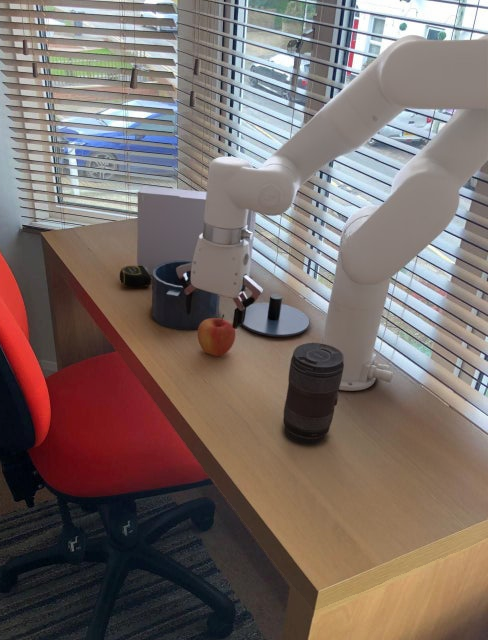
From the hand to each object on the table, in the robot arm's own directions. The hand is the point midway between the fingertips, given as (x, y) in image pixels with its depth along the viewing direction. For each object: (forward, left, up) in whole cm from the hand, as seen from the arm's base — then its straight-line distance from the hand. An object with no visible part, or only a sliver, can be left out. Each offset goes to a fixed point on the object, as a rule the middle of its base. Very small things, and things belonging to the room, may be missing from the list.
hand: (214, 318), depth 124 cm
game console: (+20, -32, -8) cm, 39 cm away
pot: (+12, -12, -8) cm, 19 cm away
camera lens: (-25, +16, -8) cm, 30 cm away
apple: (-1, 0, -8) cm, 8 cm away
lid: (-5, -19, -7) cm, 21 cm away
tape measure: (+29, -20, -8) cm, 36 cm away
